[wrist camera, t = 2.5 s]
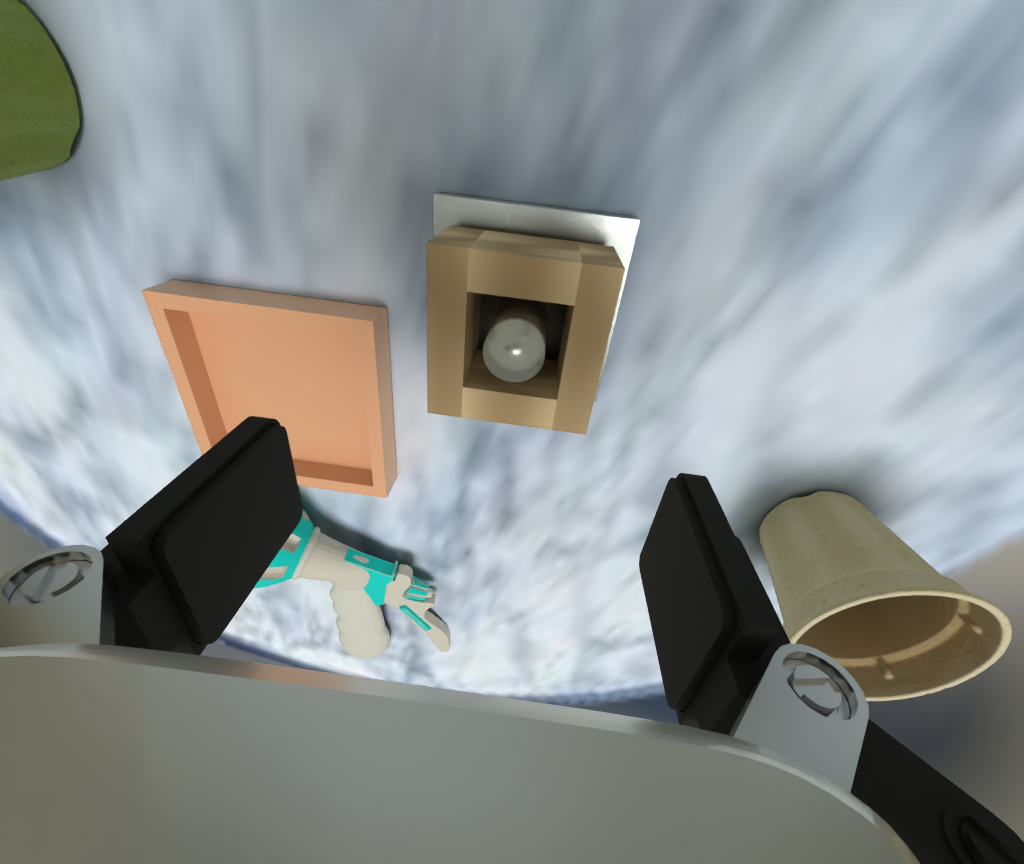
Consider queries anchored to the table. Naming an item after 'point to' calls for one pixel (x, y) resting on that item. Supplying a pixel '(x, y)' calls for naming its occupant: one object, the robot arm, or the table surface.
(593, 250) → the wooden ring
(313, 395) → the terracotta tray
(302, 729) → the robot arm
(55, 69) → the plant pot
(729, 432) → the table surface
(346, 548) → the garden hose nozzle
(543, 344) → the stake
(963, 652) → the flower pot
